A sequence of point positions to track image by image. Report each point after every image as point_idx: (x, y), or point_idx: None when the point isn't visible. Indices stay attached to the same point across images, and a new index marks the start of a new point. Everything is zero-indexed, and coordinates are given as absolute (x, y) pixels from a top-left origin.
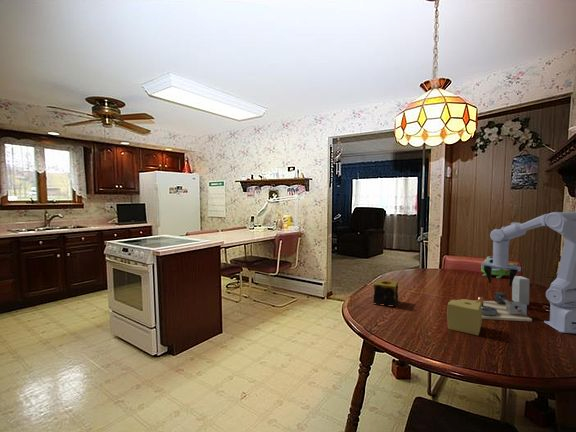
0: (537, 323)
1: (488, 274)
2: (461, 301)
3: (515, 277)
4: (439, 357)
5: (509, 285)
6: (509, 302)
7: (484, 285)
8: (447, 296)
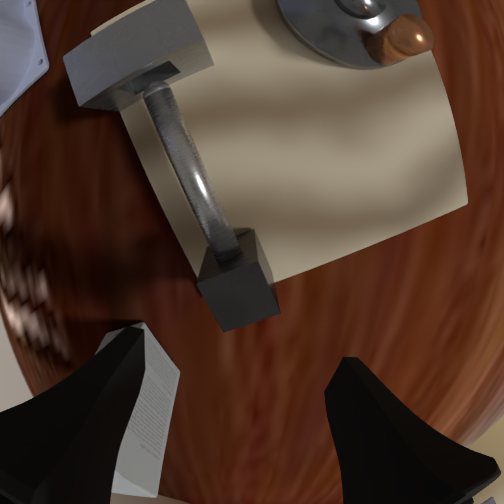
0: (79, 30)
1: (415, 433)
2: None
3: (132, 481)
4: None
5: (139, 332)
6: (180, 18)
7: (283, 469)
8: (479, 270)
